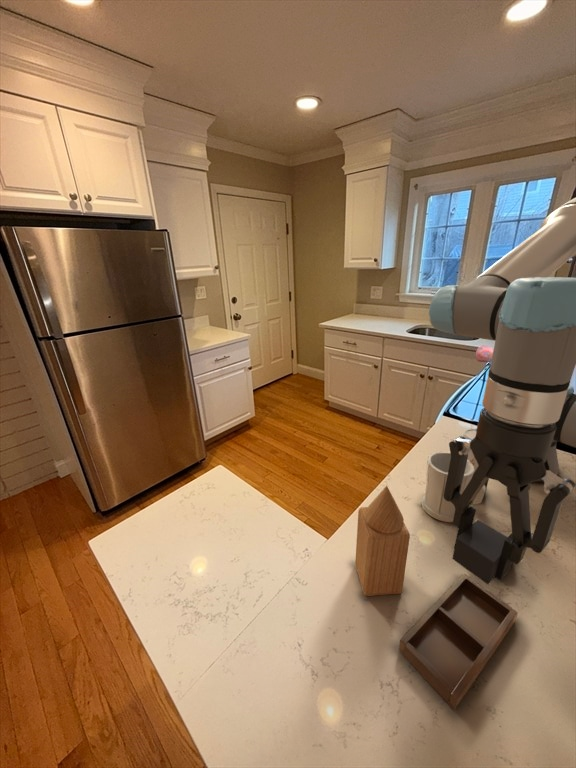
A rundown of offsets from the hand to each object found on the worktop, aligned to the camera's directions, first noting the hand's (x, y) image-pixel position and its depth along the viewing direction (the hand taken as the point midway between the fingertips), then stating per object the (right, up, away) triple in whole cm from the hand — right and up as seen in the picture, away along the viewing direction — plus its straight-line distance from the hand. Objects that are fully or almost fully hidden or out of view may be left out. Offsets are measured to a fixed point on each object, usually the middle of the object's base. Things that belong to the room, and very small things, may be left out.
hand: (480, 558), depth 46 cm
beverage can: (+15, 0, +30) cm, 34 cm away
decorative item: (-12, -9, +10) cm, 18 cm away
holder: (-3, -12, +1) cm, 12 cm away
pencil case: (+80, +35, +116) cm, 145 cm away
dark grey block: (0, 0, 0) cm, 0 cm away
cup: (+7, -3, +25) cm, 26 cm away
